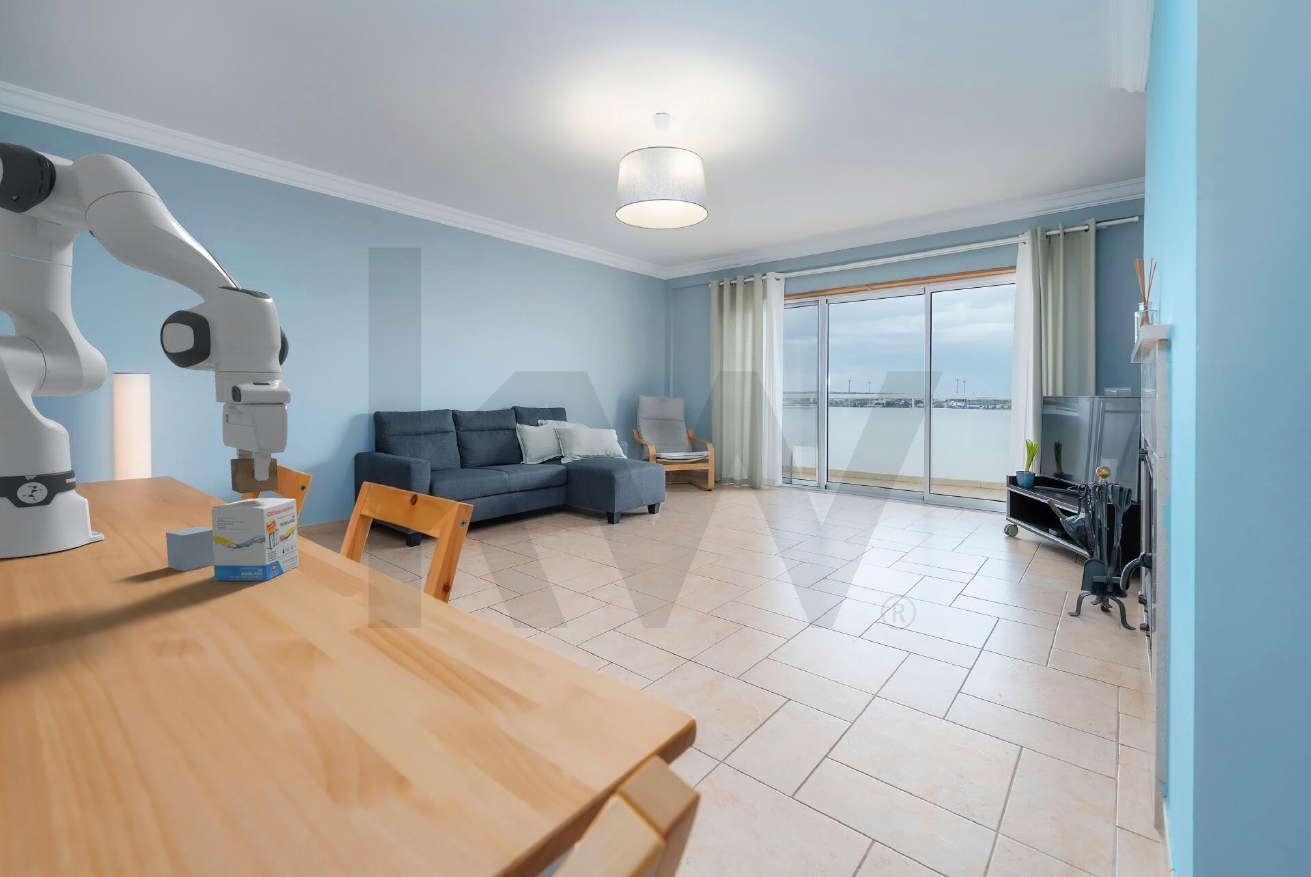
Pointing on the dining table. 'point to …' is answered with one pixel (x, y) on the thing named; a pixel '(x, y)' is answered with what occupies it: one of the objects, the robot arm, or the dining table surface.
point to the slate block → (190, 548)
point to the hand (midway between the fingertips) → (254, 478)
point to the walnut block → (244, 476)
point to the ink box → (254, 539)
